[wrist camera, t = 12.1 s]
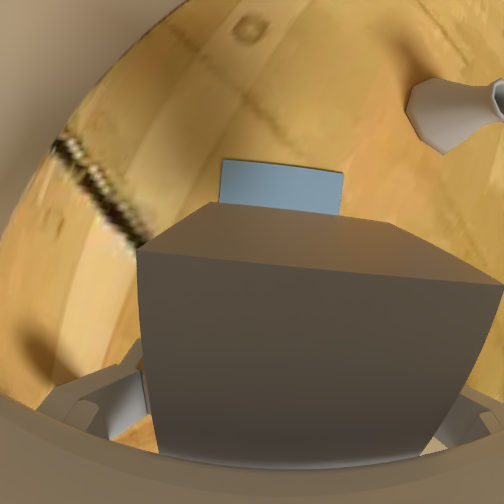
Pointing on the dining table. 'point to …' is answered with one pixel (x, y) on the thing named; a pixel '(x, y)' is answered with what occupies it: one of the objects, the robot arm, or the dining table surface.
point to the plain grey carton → (304, 337)
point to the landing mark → (280, 187)
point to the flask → (453, 110)
